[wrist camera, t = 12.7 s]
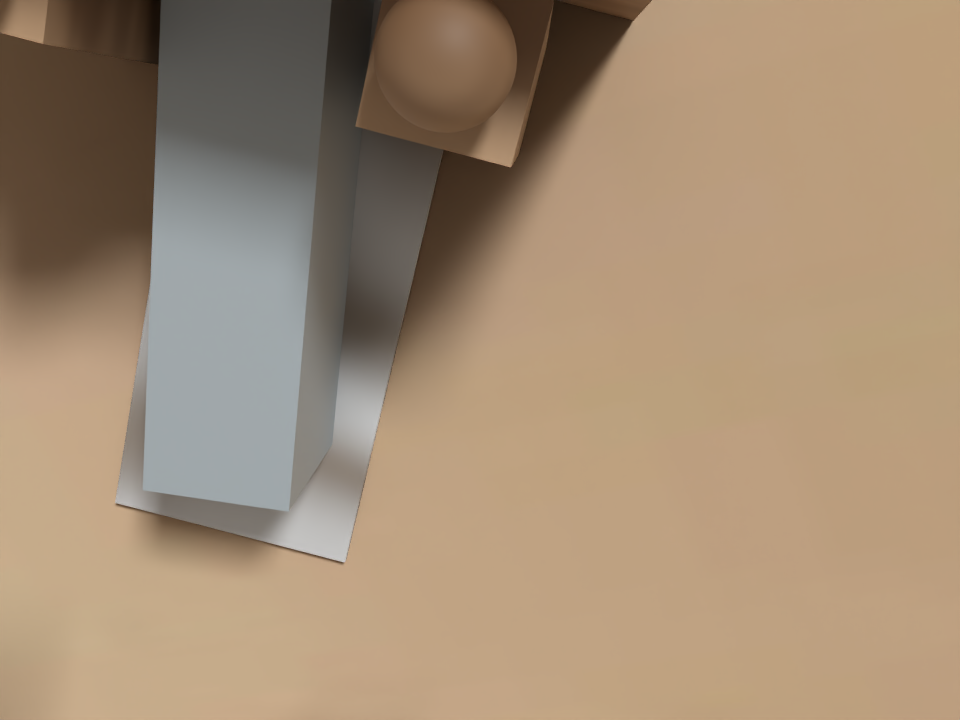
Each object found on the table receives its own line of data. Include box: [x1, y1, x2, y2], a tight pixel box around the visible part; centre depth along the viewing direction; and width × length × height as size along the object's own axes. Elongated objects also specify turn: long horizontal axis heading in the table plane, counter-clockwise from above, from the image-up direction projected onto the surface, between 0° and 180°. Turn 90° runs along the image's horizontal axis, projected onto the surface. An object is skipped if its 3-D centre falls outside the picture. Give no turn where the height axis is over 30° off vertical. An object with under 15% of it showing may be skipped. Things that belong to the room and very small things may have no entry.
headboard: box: [0, 0, 652, 562], centre depth 23 cm, size 23×19×16 cm
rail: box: [143, 0, 374, 512], centre depth 28 cm, size 17×4×6 cm, turn 172°
